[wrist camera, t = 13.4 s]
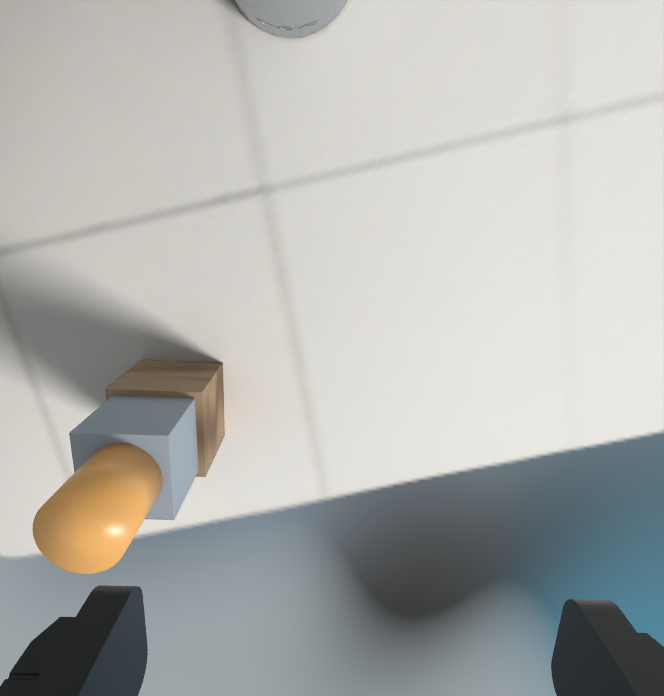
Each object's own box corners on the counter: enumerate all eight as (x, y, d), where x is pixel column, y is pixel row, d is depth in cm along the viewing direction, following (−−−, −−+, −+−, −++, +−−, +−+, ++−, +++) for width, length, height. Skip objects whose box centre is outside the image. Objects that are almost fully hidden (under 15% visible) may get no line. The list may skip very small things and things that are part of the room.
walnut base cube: (142, 359, 41) (105, 388, 34) (222, 362, 41) (202, 392, 35) (147, 432, 43) (114, 473, 36) (224, 435, 43) (205, 476, 36)
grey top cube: (112, 395, 35) (69, 432, 29) (194, 398, 35) (168, 435, 29) (119, 468, 36) (80, 517, 30) (198, 470, 36) (173, 519, 31)
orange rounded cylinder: (80, 442, 29) (25, 494, 24) (159, 443, 29) (121, 494, 24) (90, 510, 30) (40, 573, 25) (165, 510, 30) (131, 574, 25)
